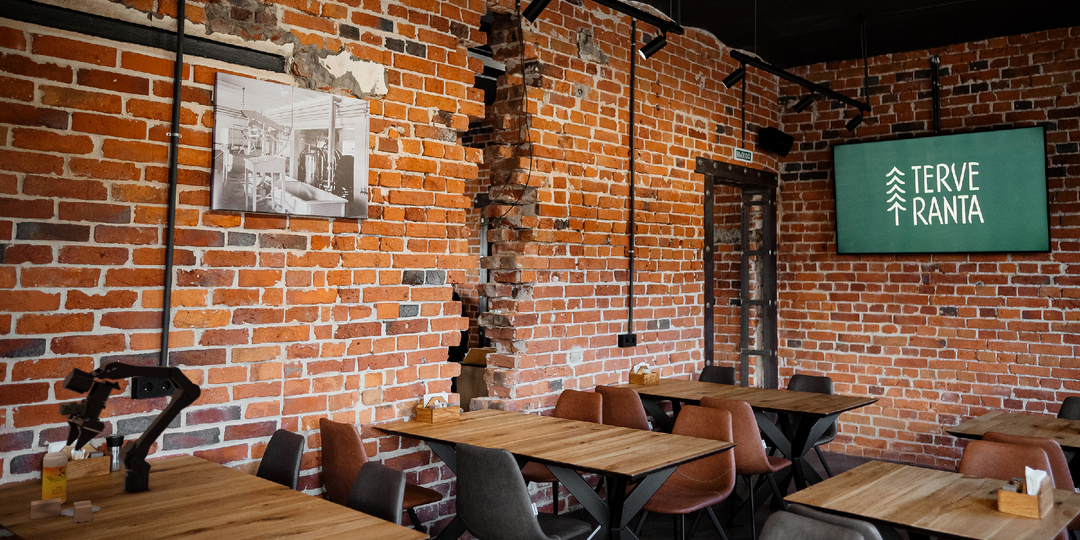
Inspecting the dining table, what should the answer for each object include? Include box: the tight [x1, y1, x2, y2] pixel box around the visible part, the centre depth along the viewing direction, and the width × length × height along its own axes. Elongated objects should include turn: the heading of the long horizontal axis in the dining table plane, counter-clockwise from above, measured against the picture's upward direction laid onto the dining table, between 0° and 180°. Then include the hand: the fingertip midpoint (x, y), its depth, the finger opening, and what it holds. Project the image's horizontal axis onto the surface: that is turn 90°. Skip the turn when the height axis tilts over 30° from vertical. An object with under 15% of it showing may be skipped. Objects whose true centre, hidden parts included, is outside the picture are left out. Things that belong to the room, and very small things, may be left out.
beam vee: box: [30, 498, 101, 524], centre depth 219 cm, size 15×20×4 cm
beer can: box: [41, 451, 68, 505], centre depth 228 cm, size 6×6×15 cm
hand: (71, 448), depth 232 cm, fingers open, 9 cm apart
